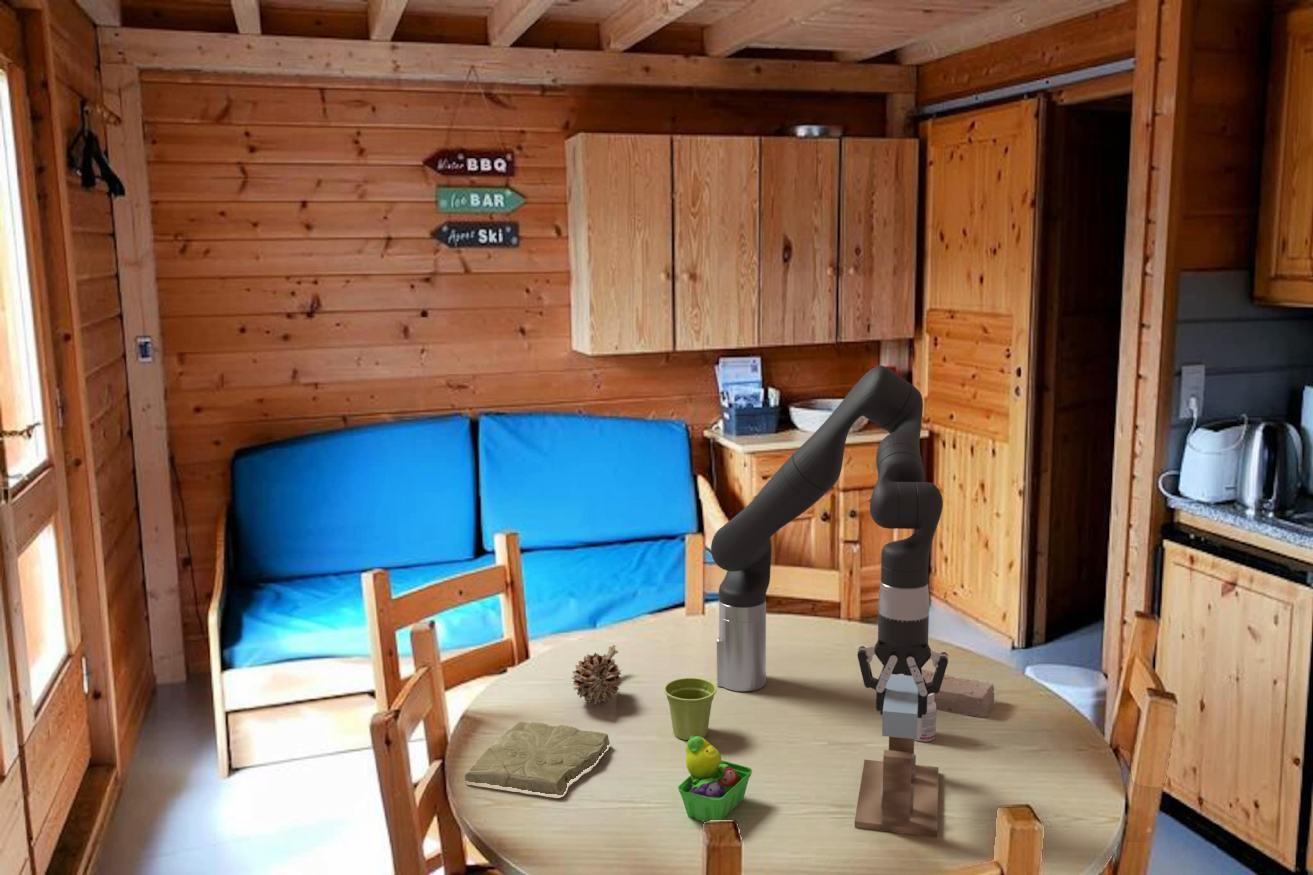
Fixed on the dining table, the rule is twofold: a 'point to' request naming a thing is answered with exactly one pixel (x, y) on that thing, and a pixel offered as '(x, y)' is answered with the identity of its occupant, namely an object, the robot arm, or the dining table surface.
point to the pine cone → (597, 677)
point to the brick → (963, 695)
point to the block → (900, 708)
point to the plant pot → (690, 706)
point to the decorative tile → (538, 757)
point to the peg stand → (898, 792)
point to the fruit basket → (711, 782)
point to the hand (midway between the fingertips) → (901, 713)
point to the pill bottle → (927, 722)
